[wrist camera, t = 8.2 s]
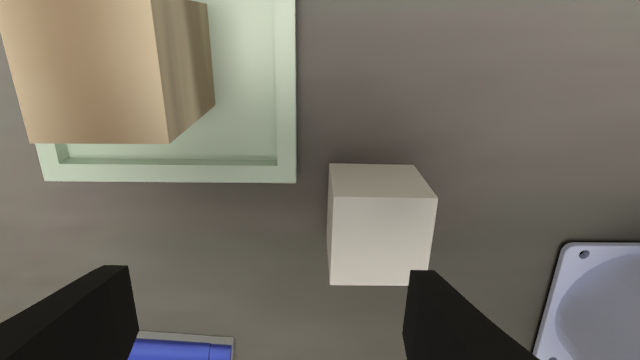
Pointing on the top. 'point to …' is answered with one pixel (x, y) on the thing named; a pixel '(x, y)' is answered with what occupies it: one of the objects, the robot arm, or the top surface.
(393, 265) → the white cube
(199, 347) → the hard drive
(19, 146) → the top surface
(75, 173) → the sage tray
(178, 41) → the birch block
